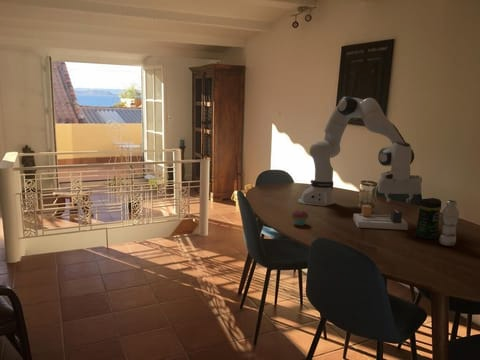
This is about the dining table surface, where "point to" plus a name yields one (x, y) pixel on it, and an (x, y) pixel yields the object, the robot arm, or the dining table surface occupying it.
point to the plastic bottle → (449, 224)
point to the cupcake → (300, 217)
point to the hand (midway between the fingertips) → (398, 202)
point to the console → (379, 222)
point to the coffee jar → (428, 218)
